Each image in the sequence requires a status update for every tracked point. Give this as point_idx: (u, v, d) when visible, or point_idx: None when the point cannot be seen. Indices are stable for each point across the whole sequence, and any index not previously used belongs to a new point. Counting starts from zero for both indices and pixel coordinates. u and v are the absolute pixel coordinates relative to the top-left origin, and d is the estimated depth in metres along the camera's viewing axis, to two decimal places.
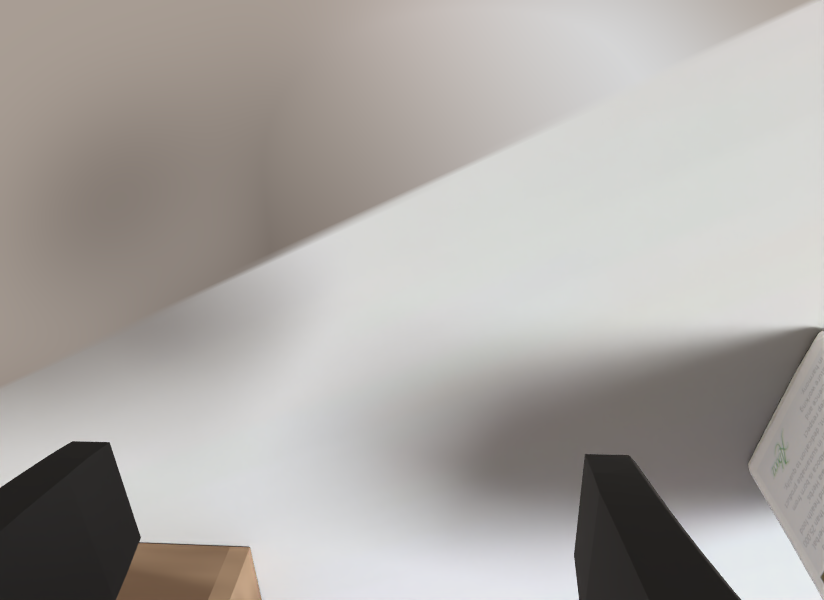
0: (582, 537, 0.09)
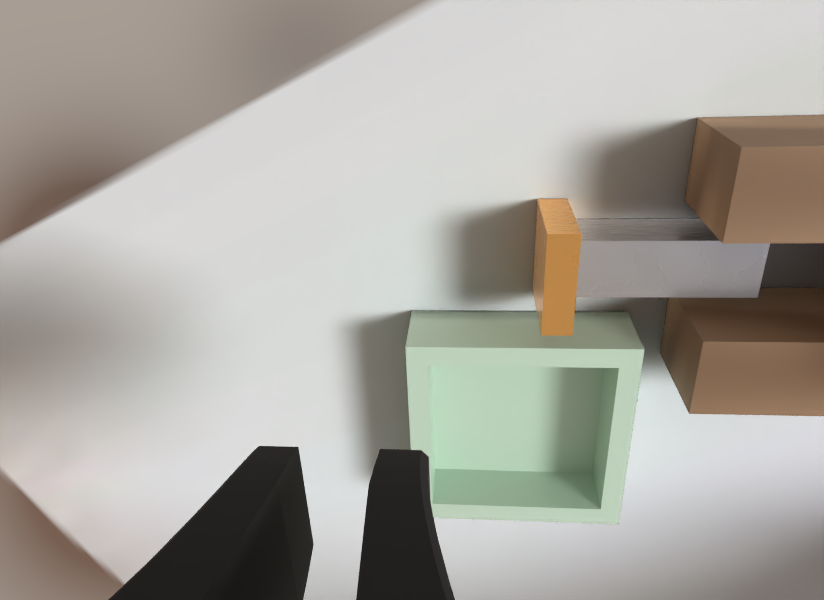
0: None
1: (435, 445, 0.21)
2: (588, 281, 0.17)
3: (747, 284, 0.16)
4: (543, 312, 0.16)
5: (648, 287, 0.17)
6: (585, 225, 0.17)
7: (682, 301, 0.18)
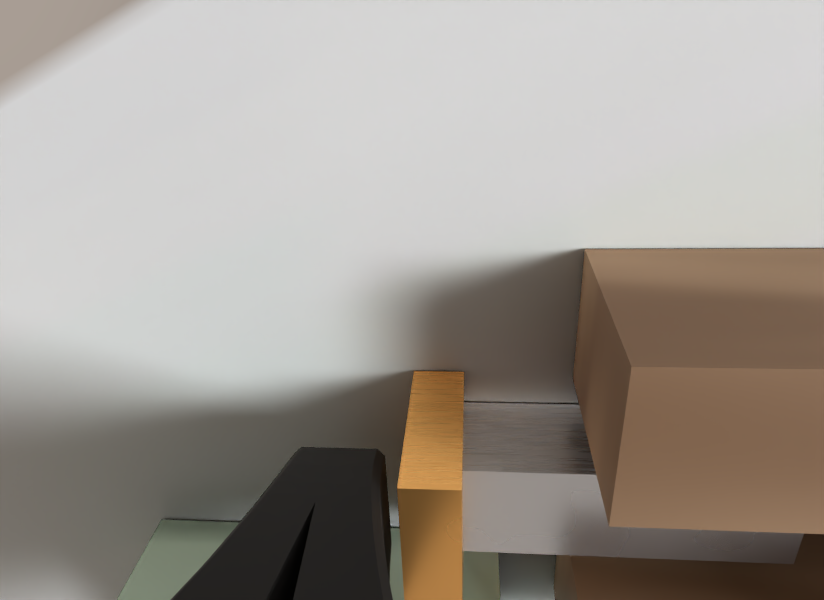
0: None
1: None
2: (493, 529, 0.09)
3: (776, 544, 0.09)
4: None
5: (600, 542, 0.09)
6: (493, 421, 0.10)
7: None
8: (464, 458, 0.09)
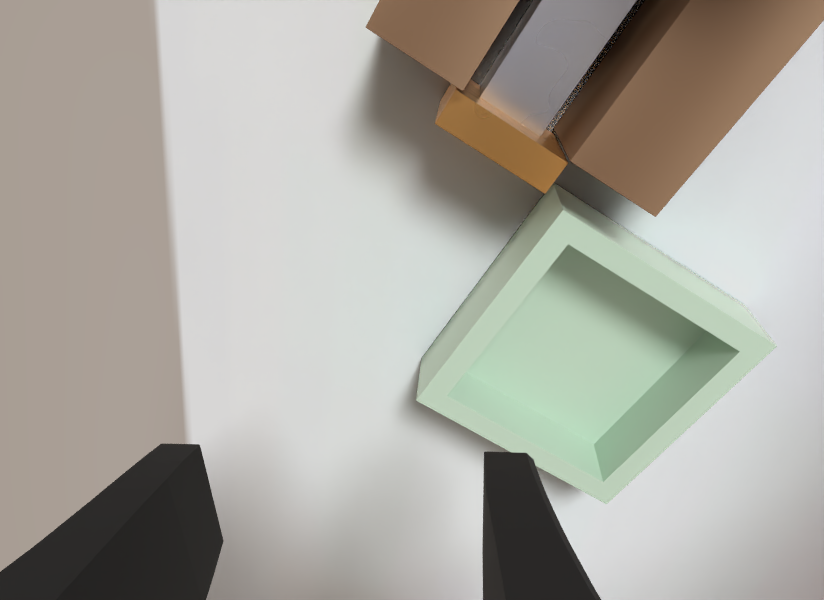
0: (483, 533, 0.09)
1: (567, 428, 0.19)
2: (535, 106, 0.14)
3: None
4: (519, 176, 0.14)
5: (587, 46, 0.13)
6: (491, 70, 0.15)
7: (560, 132, 0.15)
8: (480, 93, 0.14)
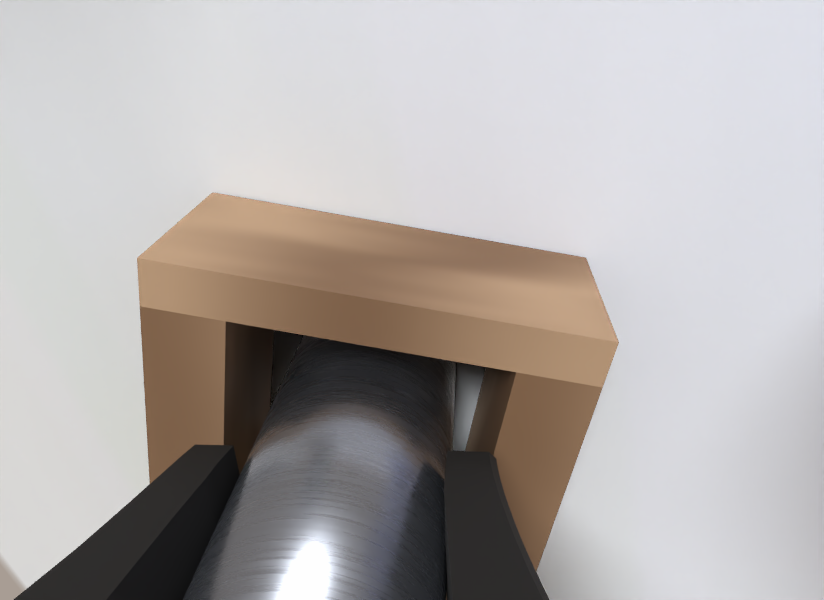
0: None
1: None
2: None
3: None
4: None
5: None
6: None
7: None
8: None
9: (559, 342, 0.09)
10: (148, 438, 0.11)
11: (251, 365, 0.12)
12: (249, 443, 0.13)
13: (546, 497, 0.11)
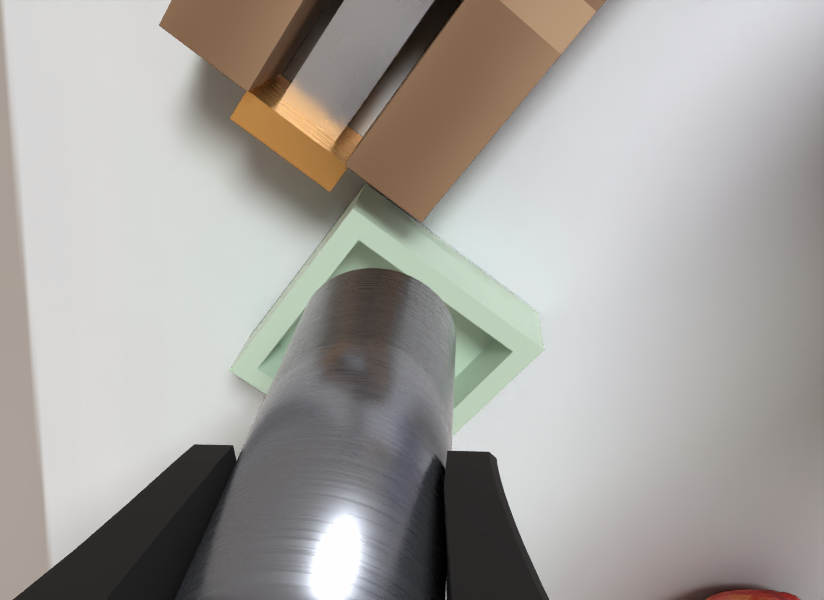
0: None
1: None
2: (330, 113, 0.15)
3: None
4: (307, 174, 0.15)
5: (373, 64, 0.15)
6: None
7: (362, 138, 0.16)
8: None
9: None
10: None
11: None
12: None
13: None
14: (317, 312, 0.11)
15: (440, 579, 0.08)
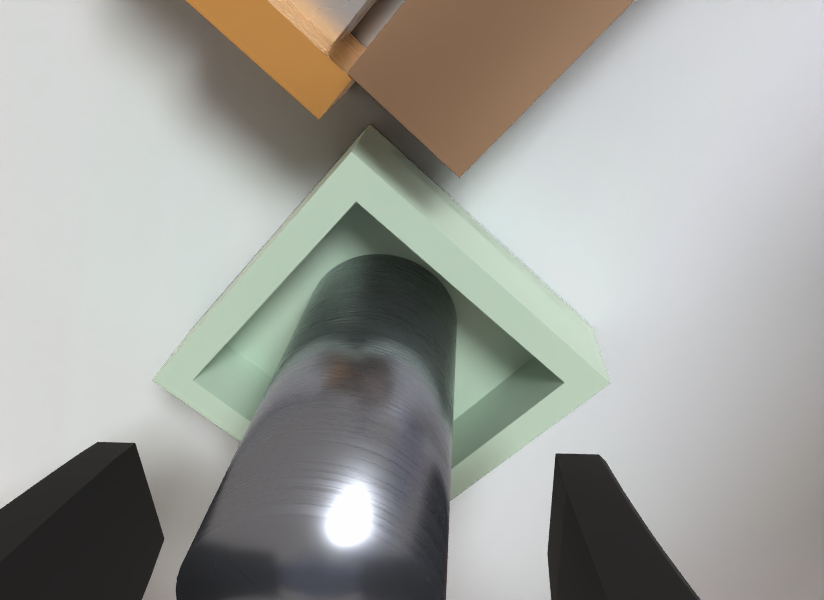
0: (553, 536, 0.09)
1: None
2: None
3: None
4: (284, 87, 0.10)
5: None
6: None
7: None
8: None
9: None
10: None
11: None
12: None
13: None
14: (325, 294, 0.12)
15: (443, 526, 0.08)
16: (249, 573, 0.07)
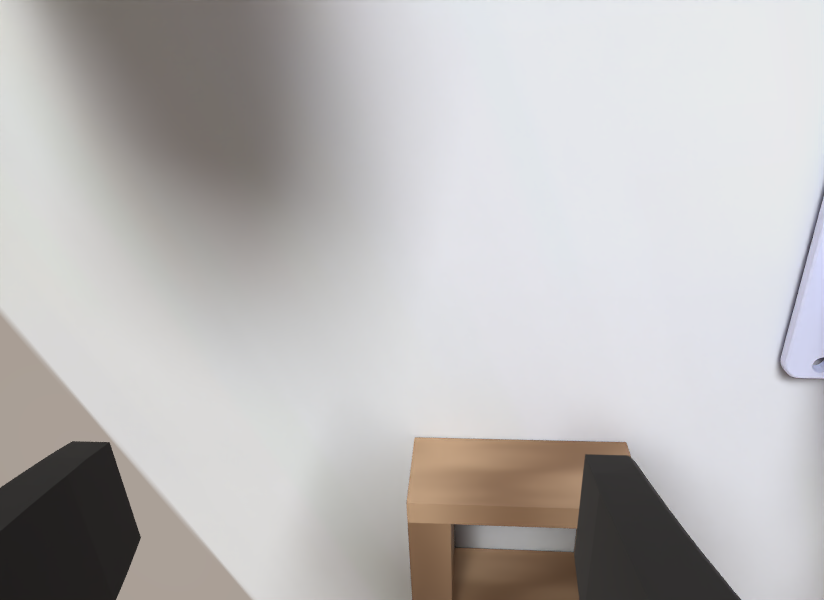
0: (582, 537, 0.09)
1: None
2: None
3: None
4: None
5: None
6: None
7: None
8: None
9: None
10: (411, 580, 0.21)
11: (452, 529, 0.21)
12: None
13: None
14: None
15: None
16: None
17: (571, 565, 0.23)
